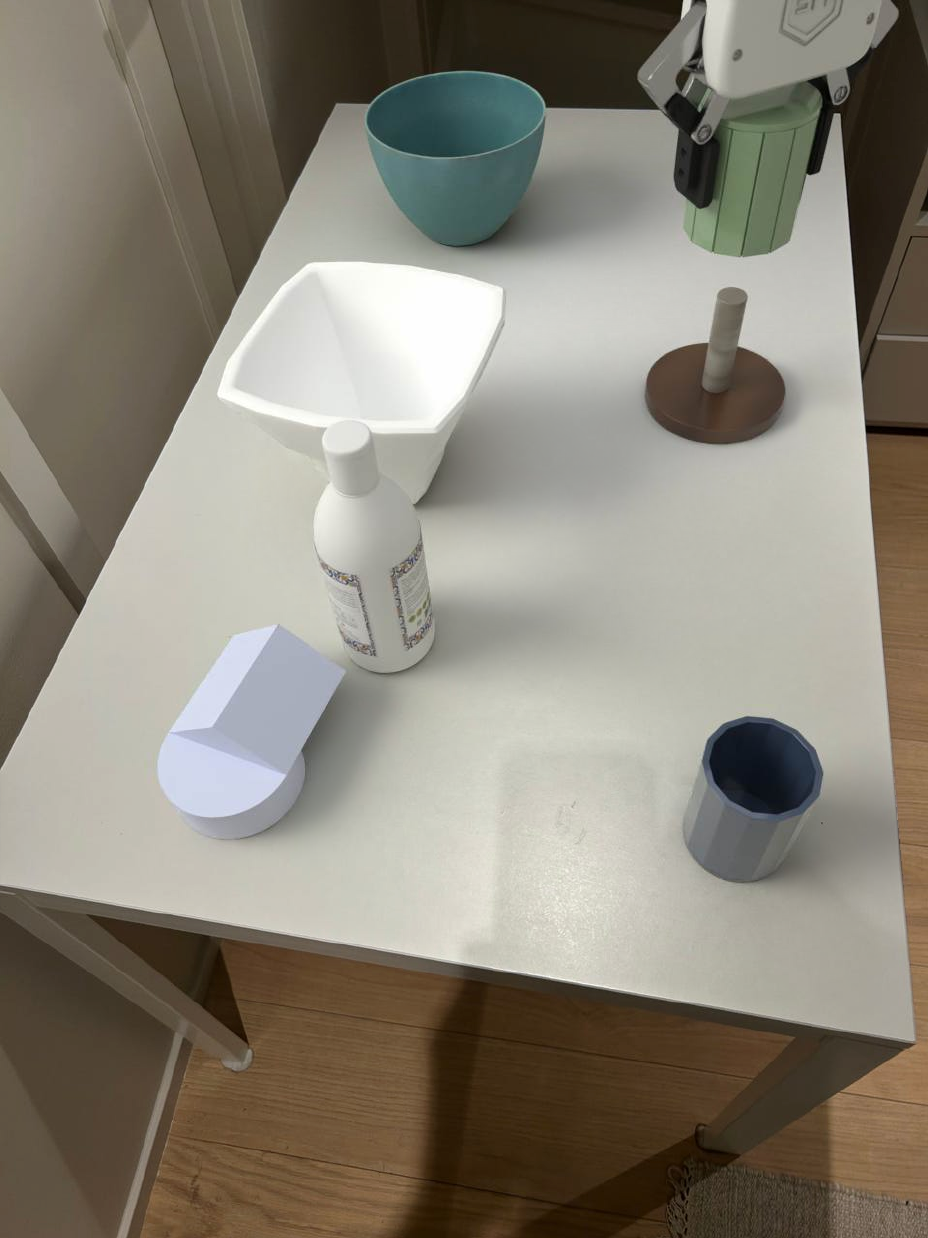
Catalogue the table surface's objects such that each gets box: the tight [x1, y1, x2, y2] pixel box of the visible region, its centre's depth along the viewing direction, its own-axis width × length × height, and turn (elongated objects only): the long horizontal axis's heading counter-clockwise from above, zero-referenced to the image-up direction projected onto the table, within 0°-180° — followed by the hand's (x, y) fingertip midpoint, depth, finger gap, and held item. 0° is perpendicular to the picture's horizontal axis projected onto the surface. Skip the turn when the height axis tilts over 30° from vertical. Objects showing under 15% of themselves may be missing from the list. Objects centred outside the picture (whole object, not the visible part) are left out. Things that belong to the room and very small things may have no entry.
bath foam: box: [312, 420, 436, 674], centre depth 61 cm, size 7×7×20 cm
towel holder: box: [644, 286, 786, 445], centre depth 79 cm, size 12×12×10 cm
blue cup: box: [682, 715, 824, 883], centre depth 55 cm, size 6×6×9 cm
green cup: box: [682, 81, 822, 258], centre depth 57 cm, size 7×7×8 cm
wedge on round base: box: [156, 623, 347, 841], centre depth 62 cm, size 9×7×13 cm
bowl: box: [217, 261, 507, 505], centre depth 74 cm, size 19×19×14 cm
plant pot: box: [363, 70, 547, 247], centre depth 98 cm, size 18×18×12 cm
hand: (746, 179), depth 58 cm, fingers closed on green cup, 7 cm apart
